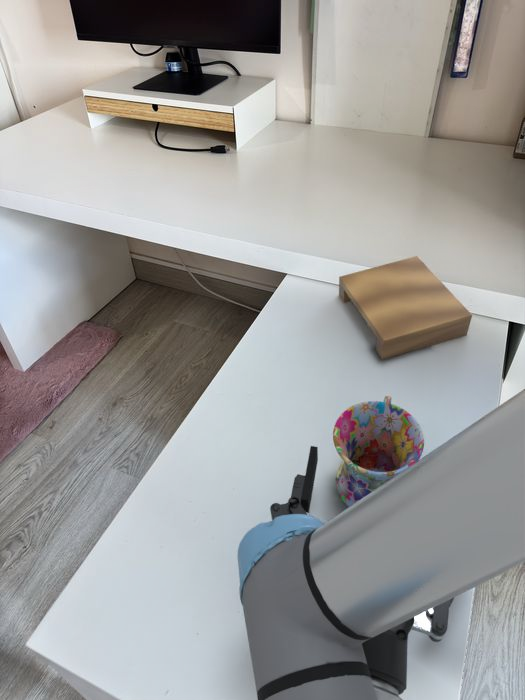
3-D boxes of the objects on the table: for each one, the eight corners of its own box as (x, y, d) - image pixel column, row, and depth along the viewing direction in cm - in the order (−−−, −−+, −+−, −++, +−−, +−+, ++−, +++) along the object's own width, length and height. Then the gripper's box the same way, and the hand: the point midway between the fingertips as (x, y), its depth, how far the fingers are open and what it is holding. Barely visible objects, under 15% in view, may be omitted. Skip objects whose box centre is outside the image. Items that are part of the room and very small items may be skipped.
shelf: (467, 334, 76) (472, 315, 73) (381, 360, 74) (384, 340, 71) (414, 274, 87) (417, 255, 84) (338, 295, 85) (339, 276, 82)
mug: (405, 534, 56) (417, 485, 48) (323, 510, 58) (323, 461, 51) (420, 445, 63) (432, 391, 56) (347, 428, 66) (349, 375, 59)
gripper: (219, 662, 46) (267, 463, 61) (511, 732, 41) (489, 496, 55) (205, 639, 41) (262, 427, 55) (539, 716, 36) (507, 459, 50)
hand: (376, 461), depth 55 cm, fingers open, 13 cm apart
